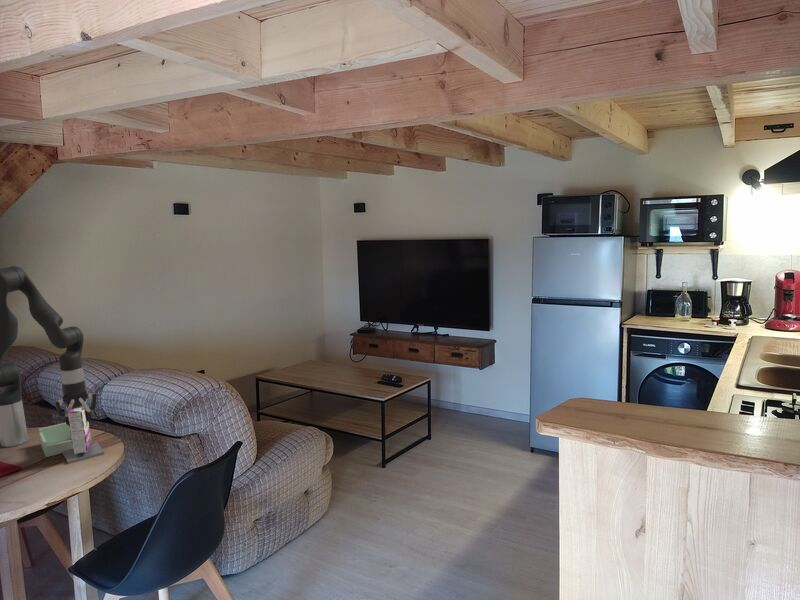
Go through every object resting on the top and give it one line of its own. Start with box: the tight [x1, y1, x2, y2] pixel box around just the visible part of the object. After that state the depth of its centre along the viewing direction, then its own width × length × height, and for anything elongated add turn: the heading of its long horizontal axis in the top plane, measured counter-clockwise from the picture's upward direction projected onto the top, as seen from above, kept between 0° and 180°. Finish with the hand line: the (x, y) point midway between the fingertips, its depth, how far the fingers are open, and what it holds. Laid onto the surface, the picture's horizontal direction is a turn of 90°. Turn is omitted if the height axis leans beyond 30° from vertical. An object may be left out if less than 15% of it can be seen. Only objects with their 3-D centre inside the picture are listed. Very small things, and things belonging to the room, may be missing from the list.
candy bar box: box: [68, 401, 92, 454], centre depth 213 cm, size 11×5×16 cm, turn 22°
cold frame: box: [38, 422, 93, 458], centre depth 223 cm, size 15×16×7 cm
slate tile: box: [62, 442, 105, 465], centre depth 215 cm, size 12×12×1 cm
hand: (79, 423), depth 213 cm, fingers closed on candy bar box, 5 cm apart
